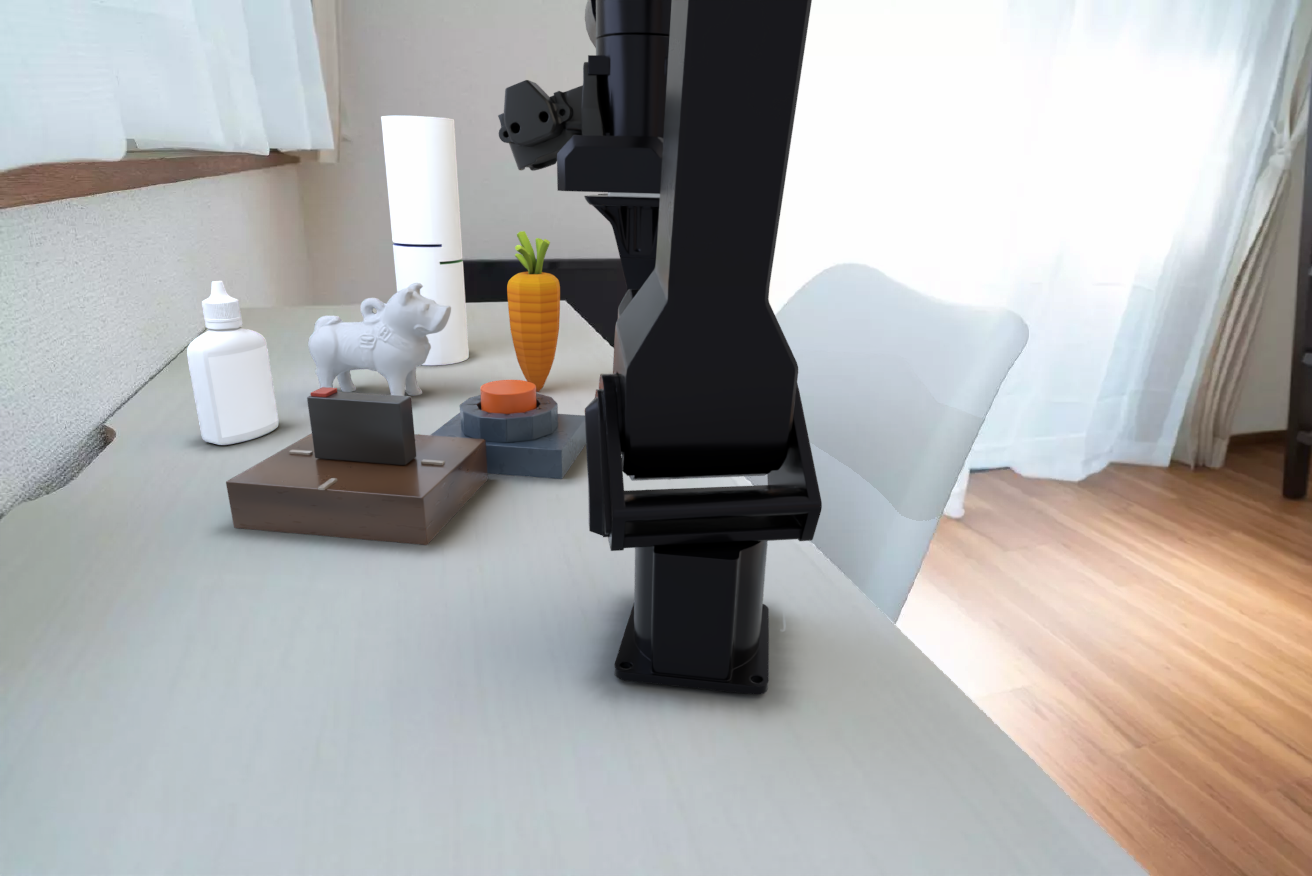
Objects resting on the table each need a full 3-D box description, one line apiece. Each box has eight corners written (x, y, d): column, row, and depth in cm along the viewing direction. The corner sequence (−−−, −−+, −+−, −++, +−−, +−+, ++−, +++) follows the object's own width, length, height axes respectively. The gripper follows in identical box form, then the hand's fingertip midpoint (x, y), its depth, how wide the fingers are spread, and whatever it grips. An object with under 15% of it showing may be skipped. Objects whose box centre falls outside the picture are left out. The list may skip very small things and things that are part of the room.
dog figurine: (446, 410, 67) (438, 289, 64) (306, 404, 68) (290, 284, 64) (464, 393, 72) (457, 281, 69) (333, 388, 73) (320, 276, 69)
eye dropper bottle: (287, 436, 60) (264, 282, 56) (206, 449, 57) (176, 287, 53) (275, 421, 63) (253, 276, 59) (198, 433, 60) (169, 280, 56)
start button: (527, 419, 54) (526, 395, 53) (473, 415, 54) (471, 392, 54) (542, 403, 58) (542, 381, 57) (492, 400, 58) (491, 378, 57)
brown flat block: (426, 546, 43) (421, 495, 42) (232, 529, 45) (223, 479, 43) (488, 479, 53) (486, 436, 52) (327, 466, 54) (321, 424, 53)
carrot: (568, 396, 72) (566, 234, 67) (517, 401, 70) (510, 234, 65) (555, 383, 76) (552, 229, 71) (506, 387, 75) (499, 230, 70)
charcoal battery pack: (417, 456, 48) (411, 392, 46) (405, 465, 46) (399, 399, 45) (328, 449, 49) (320, 386, 47) (314, 458, 47) (305, 393, 46)
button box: (562, 479, 53) (560, 425, 51) (425, 469, 54) (421, 415, 53) (587, 441, 60) (587, 393, 59) (467, 433, 62) (464, 385, 60)
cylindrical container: (399, 353, 87) (377, 118, 79) (461, 348, 90) (447, 121, 82) (408, 367, 81) (385, 114, 73) (474, 362, 84) (460, 118, 76)
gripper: (553, 63, 55) (558, 282, 60) (452, 11, 37) (470, 326, 42) (707, 64, 53) (698, 288, 58) (677, 11, 36) (668, 336, 41)
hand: (639, 306), depth 50 cm, fingers closed
